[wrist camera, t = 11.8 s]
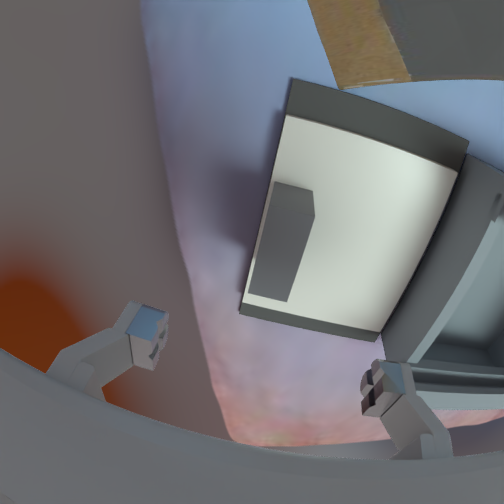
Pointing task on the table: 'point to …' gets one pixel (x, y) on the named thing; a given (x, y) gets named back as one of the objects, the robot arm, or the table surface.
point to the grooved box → (458, 301)
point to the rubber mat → (374, 126)
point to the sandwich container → (411, 40)
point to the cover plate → (343, 225)
